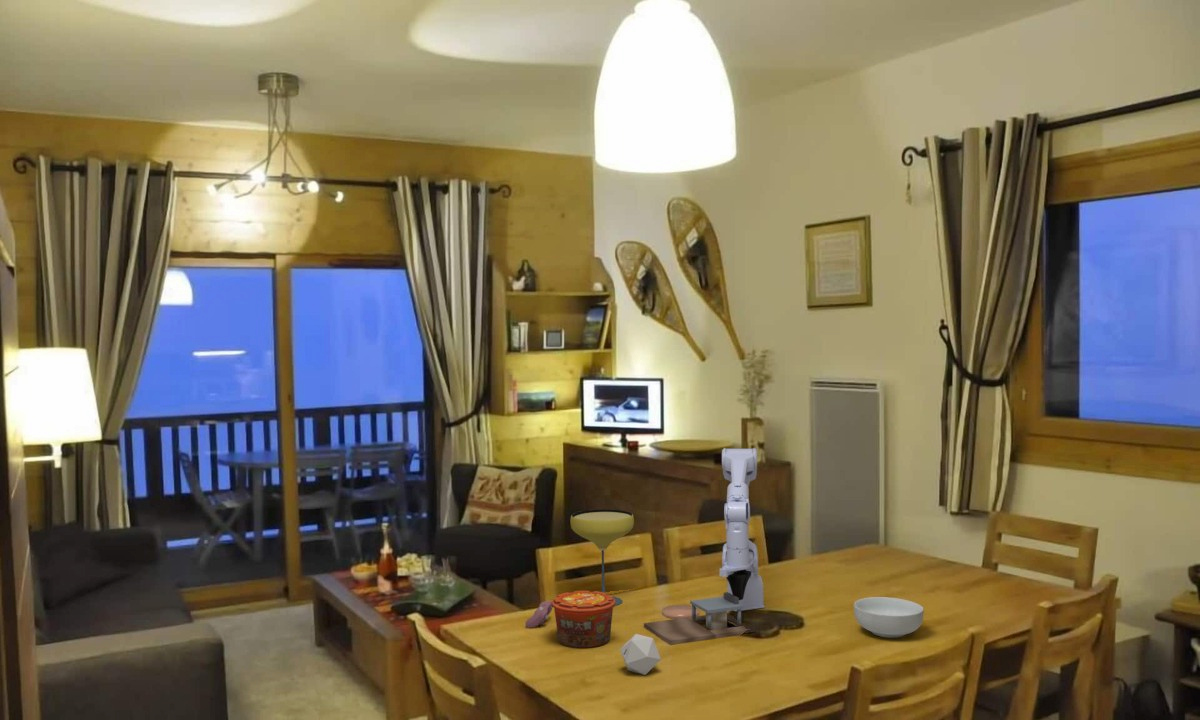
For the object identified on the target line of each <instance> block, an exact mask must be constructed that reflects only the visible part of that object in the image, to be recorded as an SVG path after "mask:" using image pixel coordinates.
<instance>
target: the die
mask: <svg viewBox="0 0 1200 720" xmlns="http://www.w3.org/2000/svg"><path fill="white" fill-rule="evenodd" d="M619 652H620V654H621V656H622V659H623V662H624V664H625V666H626V670H627V671H629V672H632V673H636V674H639V675H643V676H646V675H647V674H648V673H650V671H651V670H652V669H653V668H654V667H656V665H657V664H658V663H659V662H660V661H662V659H661V656H660V653H659V651H658V648H657V646H656V643H655V640H654V638H653V637H650V636H646V635H641V634H637V633H634V635H633V636H632V637H631V638H630V639H629V640H628V641H626V643H624V644H623V645H622V647H620V648H619Z"/></svg>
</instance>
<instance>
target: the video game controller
mask: <svg viewBox="0 0 1200 720" xmlns="http://www.w3.org/2000/svg"><path fill="white" fill-rule="evenodd" d="M553 609H554V607H552V601H548V600H545V601H542V602H541V603H539V605H538V608H537V609H536V610H535V611H534V613H533V614H532V615H531V616H530V617H529V618H527V620H526V621H525V625H524V626H525V627H526V628H527V629H533V628H534V627H535V628H536V627H537V626H539V627H540V626H542V625H543V624H544V623H545V622H546V621H548V619H549V615H550V613H552V611H553Z"/></svg>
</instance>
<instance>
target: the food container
mask: <svg viewBox="0 0 1200 720" xmlns="http://www.w3.org/2000/svg"><path fill="white" fill-rule="evenodd" d="M613 597H614V596H613ZM613 597H612V595H611V594H609V595H608V593H607V592H606V593H604V592H601V591H599V590H598V591H597V590H594V591H590V590H574V591H573V592H568V591H566V592H564V593H563V592H562V593H560V594H558V595H557V596H556V597H554V599H552V600H551V602H552V607H553V610H554V616H555V617H554V618H555V624H556V625H555V626H556V630H557V631H556V632H557V639H558V642H559V643H560V644H561V645H563V646H564V647H568V648H573V649H593V648H599V647H601V646H605V645H607V644H608V643H609V642H610V640H611V630H612V620H613V613H614V612H613V611H614V608H615V606H614V605H615V603H616V601H615V600H614V598H613Z"/></svg>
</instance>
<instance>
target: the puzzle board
mask: <svg viewBox="0 0 1200 720" xmlns="http://www.w3.org/2000/svg"><path fill="white" fill-rule="evenodd" d="M734 617H735V616H733V615H731V614H730V613H728V612H727V621H730V622H733V623H735V624H737V622H736V621H735V620H736V619H735V618H736V617H735V618H734ZM734 619H735V620H734ZM702 624H706V614H703V615H698V616H696V620H692V617H687V618H680V619H673V618H671V619H667V620H657V621H651V622H650V621H649V622H645V623H643V628H645V629H646V630H648V631H649V632H651V633H652V634H653V635H655V636H656V637H658V639H661V640H662V641H664V642H665V643H667V644H668V645H670V646H672V645H678V644H686V643H692V642H699V641H707V640H713V639H714V640H715V639H721V638H728V637H733V636H734V637H735V636H741V635H742V634H743V633H744V632H745V631H747V630H750V629H746V628H745V627H744V626H740V625H739V626H738V627H734V626H732V627H727V628H724V629H716V630H711V629H708V628H707V627H704V626H702ZM737 625H738V624H737ZM743 635H744V634H743ZM743 635H742V636H743Z"/></svg>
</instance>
